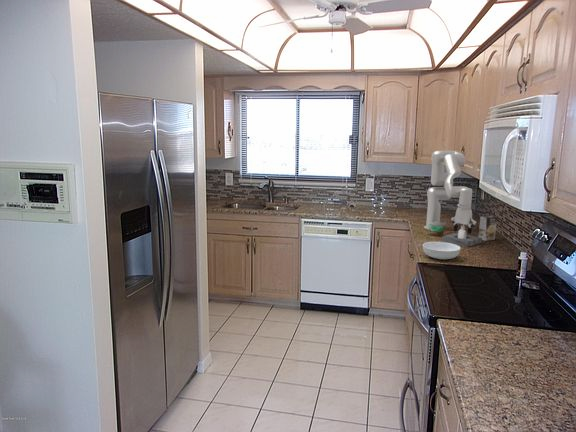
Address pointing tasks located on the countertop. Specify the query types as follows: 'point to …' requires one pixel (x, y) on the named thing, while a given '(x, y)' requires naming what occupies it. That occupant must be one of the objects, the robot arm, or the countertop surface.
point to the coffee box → (487, 227)
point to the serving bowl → (441, 250)
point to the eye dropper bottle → (462, 232)
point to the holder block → (461, 240)
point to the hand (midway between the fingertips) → (462, 232)
